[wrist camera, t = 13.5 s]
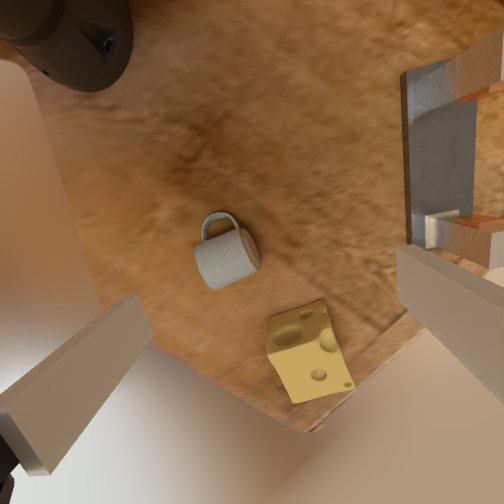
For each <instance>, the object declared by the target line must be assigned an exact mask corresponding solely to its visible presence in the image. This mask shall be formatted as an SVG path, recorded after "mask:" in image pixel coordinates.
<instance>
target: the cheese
mask: <svg viewBox="0 0 504 504" xmlns="http://www.w3.org/2000/svg"><path fill="white" fill-rule="evenodd" d="M266 350H267V356H268V358H269V360H270V361H271V363H272V364H273V366H274V367H275V369H276V370H277V372H278V374H279V376H280V378H281V380H282V382H283V384H284V386H285V388H286V390H287V392H288V394H289V396H290V398H291V400H292V402H293V404H294V403H300V402H304V401H308V400H311V399H314V398H317V397H321V396H325V395H329V394H333V393H337V392H342V391H347V390H352V389H355V388H356V387H355V384H354V381H353V378H352V376H351V373H350V371H349V369H348V367H347V364H346V361H345V358H344V355H343V353H342V350H341V348H340V345H339V343H338V341H337V338H336V336H335V334H334V331H333V328H332V325H331V322H330V319H329V316H328V312H327V308H326V305H325V302H324V301H323V300H322V299H321V300H318V301H315V302H313V303H311V304H308V305H305V306H303V307H299V308H296V309H294V310H290V311H287V312H284V313H281V314H277V315H274V316H271V319H270V322H269V326H268V329H267V335H266Z"/></svg>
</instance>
